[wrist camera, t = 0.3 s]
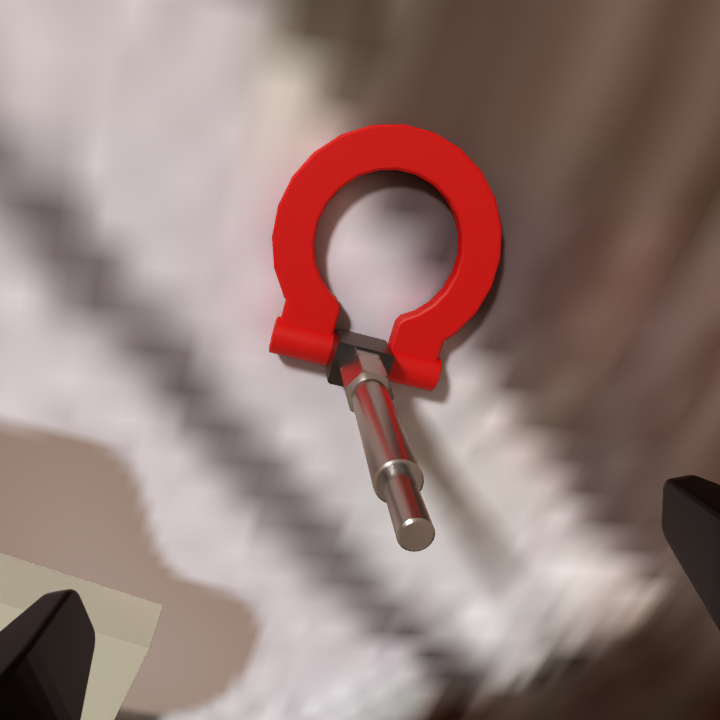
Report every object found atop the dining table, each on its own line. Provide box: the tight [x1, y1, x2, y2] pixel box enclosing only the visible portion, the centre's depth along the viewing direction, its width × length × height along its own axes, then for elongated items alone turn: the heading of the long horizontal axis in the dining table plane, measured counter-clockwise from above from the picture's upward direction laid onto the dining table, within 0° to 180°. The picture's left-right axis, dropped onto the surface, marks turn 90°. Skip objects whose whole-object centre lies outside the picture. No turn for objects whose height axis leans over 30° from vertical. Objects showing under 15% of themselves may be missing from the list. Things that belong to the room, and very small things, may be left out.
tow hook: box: [269, 125, 502, 552], centre depth 17 cm, size 8×13×9 cm
